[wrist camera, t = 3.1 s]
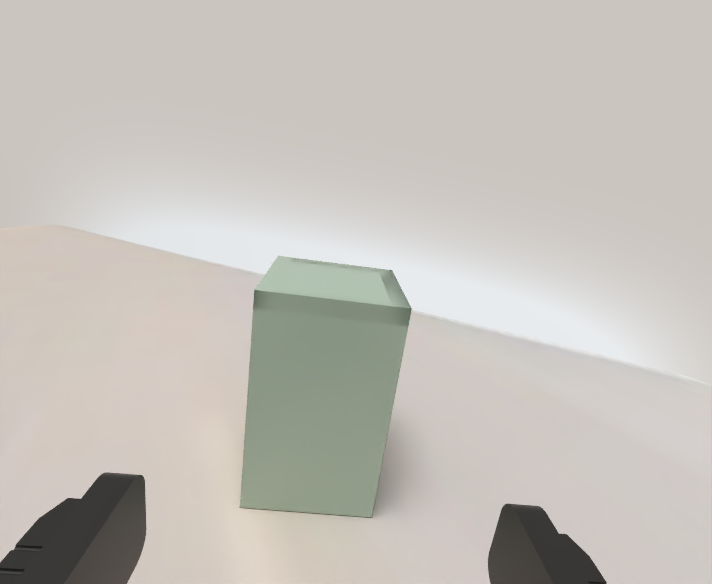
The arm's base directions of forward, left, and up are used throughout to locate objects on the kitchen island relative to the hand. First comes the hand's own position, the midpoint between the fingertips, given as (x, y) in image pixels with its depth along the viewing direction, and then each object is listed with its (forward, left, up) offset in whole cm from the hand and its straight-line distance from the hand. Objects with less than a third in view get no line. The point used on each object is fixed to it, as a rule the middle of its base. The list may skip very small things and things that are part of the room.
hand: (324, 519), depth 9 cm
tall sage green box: (-10, +5, -9) cm, 14 cm away
